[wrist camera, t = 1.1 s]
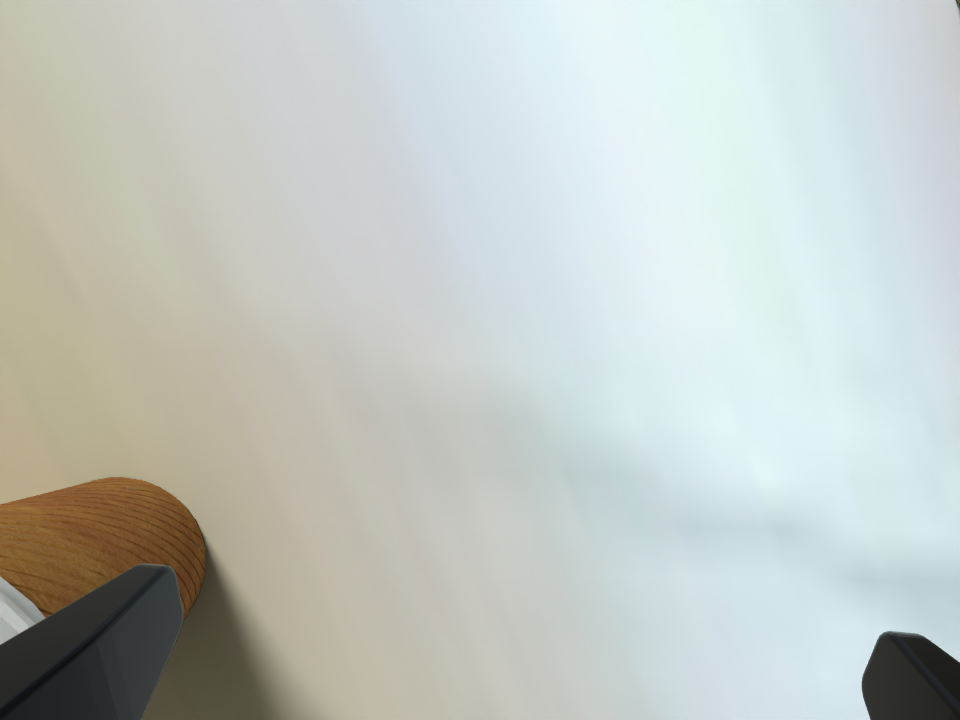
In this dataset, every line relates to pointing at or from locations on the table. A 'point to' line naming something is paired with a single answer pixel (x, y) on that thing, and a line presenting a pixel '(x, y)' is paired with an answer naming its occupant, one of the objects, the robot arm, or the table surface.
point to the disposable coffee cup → (90, 546)
